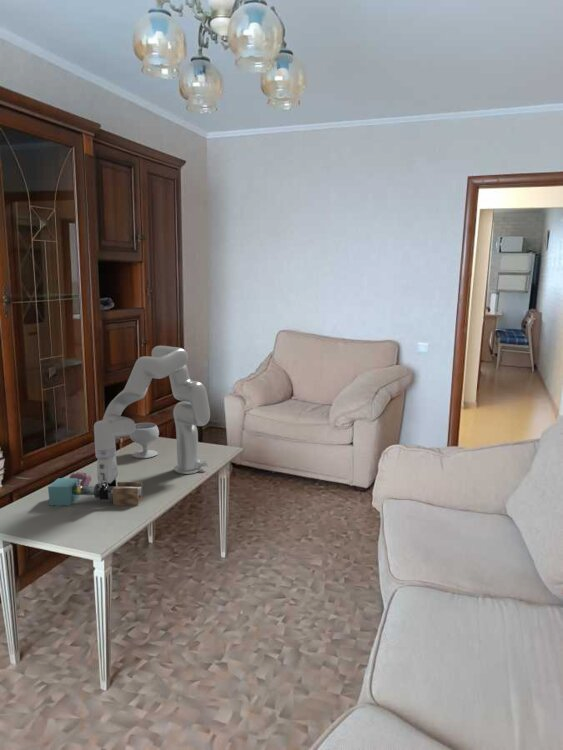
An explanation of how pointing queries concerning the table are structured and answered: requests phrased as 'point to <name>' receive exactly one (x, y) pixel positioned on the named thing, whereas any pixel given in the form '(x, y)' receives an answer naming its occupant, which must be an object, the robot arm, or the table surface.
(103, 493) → the robot arm
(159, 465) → the table surface
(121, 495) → the wooden cradle block
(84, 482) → the video game controller
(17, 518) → the table surface
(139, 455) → the chalice
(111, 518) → the table surface
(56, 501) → the socket block
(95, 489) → the rod
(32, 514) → the table surface
